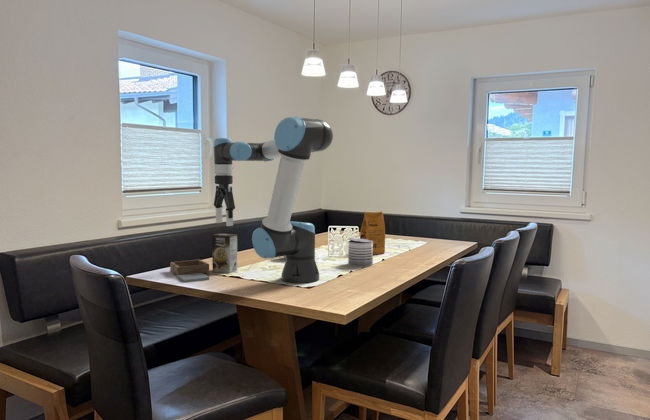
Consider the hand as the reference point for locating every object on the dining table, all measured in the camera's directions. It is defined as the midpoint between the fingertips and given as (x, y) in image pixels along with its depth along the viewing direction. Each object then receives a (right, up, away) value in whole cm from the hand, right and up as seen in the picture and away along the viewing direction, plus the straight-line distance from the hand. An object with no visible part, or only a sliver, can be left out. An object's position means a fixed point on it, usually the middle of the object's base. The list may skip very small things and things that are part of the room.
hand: (224, 224), depth 209 cm
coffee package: (+68, -17, +47) cm, 85 cm away
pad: (-10, -22, -13) cm, 27 cm away
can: (+60, -19, +17) cm, 65 cm away
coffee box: (0, -21, +2) cm, 21 cm away
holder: (-15, -21, -1) cm, 25 cm away
